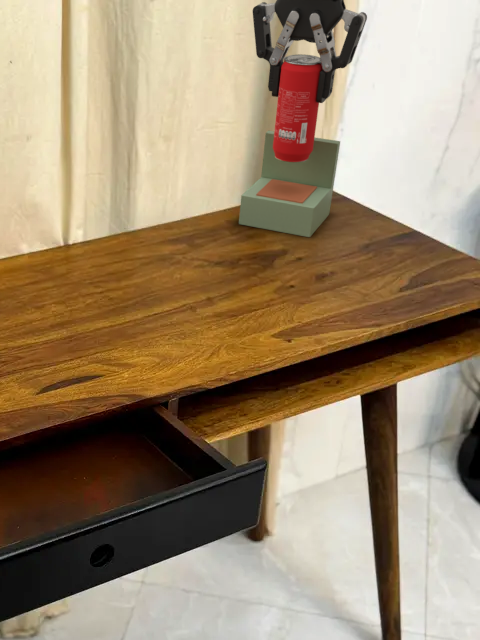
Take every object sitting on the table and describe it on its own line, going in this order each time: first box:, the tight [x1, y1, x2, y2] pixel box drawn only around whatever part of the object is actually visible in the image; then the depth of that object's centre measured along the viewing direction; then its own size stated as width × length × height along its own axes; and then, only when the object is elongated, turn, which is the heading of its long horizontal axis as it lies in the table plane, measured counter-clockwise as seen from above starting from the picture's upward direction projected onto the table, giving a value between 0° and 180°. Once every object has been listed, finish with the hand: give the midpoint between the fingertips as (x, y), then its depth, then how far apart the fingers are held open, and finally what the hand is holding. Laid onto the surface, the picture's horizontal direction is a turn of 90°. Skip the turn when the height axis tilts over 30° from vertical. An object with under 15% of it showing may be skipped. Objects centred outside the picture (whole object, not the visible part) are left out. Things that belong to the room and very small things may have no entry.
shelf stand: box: [238, 130, 341, 238], centre depth 132 cm, size 10×9×10 cm
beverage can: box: [273, 53, 323, 162], centre depth 126 cm, size 5×5×12 cm
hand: (299, 97), depth 125 cm, fingers closed on beverage can, 5 cm apart
